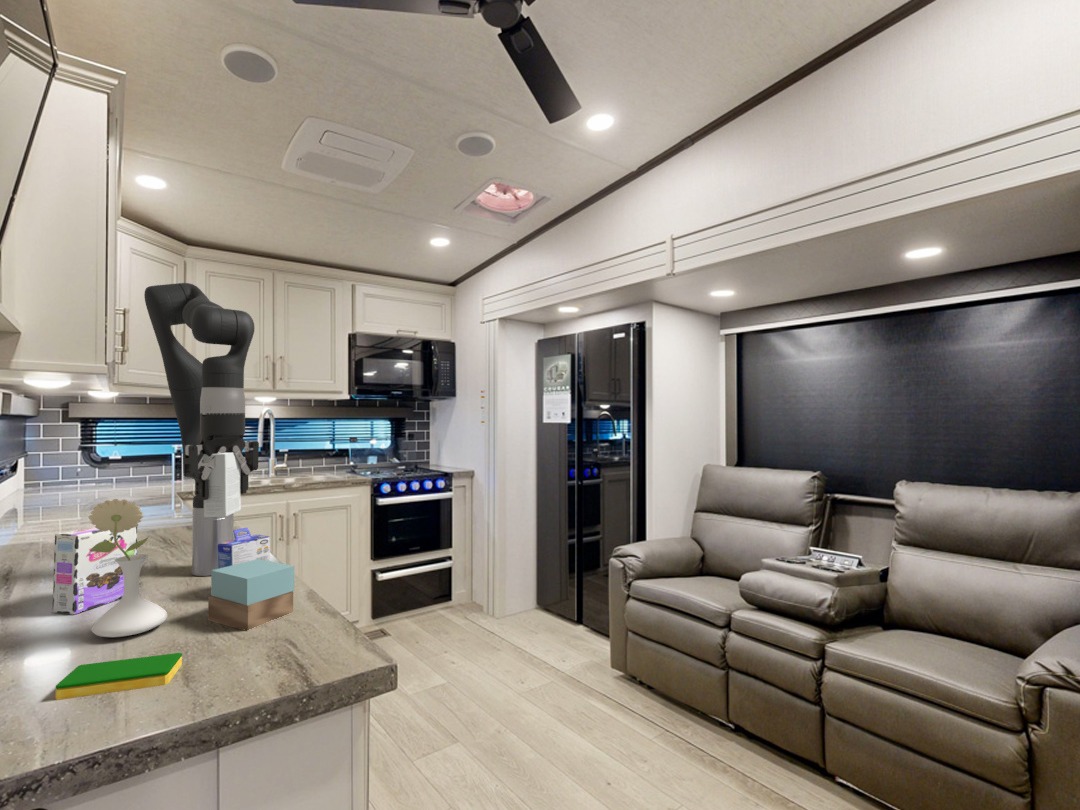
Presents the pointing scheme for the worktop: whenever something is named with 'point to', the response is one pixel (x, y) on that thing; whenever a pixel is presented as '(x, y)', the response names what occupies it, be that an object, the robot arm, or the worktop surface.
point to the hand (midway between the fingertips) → (222, 496)
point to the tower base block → (249, 611)
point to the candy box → (88, 569)
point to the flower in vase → (124, 574)
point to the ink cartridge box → (243, 549)
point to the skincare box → (223, 486)
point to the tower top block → (252, 581)
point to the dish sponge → (119, 675)
